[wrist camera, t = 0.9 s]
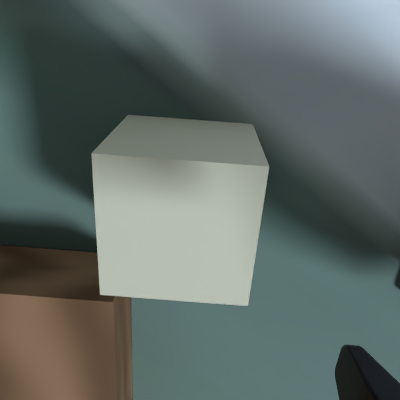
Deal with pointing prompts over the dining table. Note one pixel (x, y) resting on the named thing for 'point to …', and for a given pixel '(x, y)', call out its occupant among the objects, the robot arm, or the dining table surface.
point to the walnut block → (61, 328)
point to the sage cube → (178, 209)
